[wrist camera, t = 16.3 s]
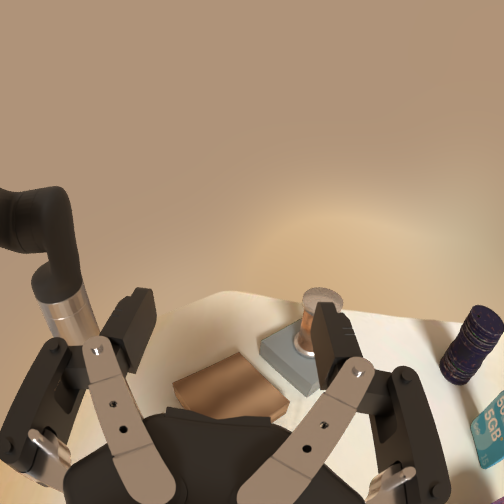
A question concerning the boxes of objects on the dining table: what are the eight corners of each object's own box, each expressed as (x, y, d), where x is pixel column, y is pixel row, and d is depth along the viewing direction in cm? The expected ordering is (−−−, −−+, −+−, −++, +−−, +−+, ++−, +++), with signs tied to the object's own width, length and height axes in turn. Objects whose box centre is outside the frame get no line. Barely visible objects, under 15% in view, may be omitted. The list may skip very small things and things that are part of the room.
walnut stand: (175, 395, 40) (172, 383, 38) (238, 365, 47) (238, 352, 45) (219, 454, 31) (218, 446, 29) (285, 413, 38) (289, 401, 36)
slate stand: (259, 354, 50) (261, 340, 48) (305, 327, 57) (308, 314, 55) (306, 397, 41) (312, 385, 39) (350, 361, 48) (356, 348, 47)
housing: (285, 344, 48) (294, 297, 42) (309, 328, 51) (320, 282, 46) (312, 365, 43) (326, 319, 38) (334, 346, 47) (350, 301, 42)
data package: (468, 424, 30) (505, 386, 25) (482, 419, 30) (517, 382, 24) (481, 472, 20) (525, 439, 14) (495, 464, 19) (537, 431, 14)
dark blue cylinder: (468, 358, 45) (498, 310, 38) (472, 388, 38) (509, 338, 31) (438, 351, 49) (466, 300, 42) (439, 381, 41) (475, 329, 34)
